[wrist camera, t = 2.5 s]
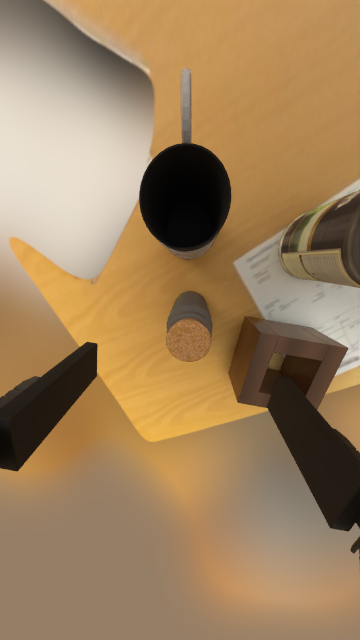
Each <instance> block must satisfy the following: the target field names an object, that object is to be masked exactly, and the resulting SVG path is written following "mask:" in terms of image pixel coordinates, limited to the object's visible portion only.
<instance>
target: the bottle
mask: <svg viewBox="0 0 360 640" xmlns="http://www.w3.org/2000/svg"><path fill="white" fill-rule="evenodd" d="M211 337H212V319H211V316H210V313H209V310H208V306H207V304H206V301H205V299H204V298H203V297H202V296H201V295H200V294H199V293H196V292H193V291H189V292H185V293H182V294H181V295H180V296H179V297H178V298H177V299H176V301H175V303H174V306H173V308H172V310H171V312H170V315H169V317H168V321H167V336H166V345H167V348H168V350H169V352H170V353H171V354H172V355H173V356H174V357H175V358H177V359H179V360H181V361H185V362H193V361H197V360H199V359H201V358H203V357H204V356H205V355H206V354H207V353H208V352H209V350H210V347H211V342H212V339H211Z"/></svg>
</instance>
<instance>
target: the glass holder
mask: <svg viewBox="0 0 360 640" xmlns="http://www.w3.org/2000/svg"><path fill="white" fill-rule="evenodd" d="M181 125H182V144H176V145H173V146H171V147H168V148H166V149H165V150H163V151H162V152H160V153H159V154H158V155H157V156H156V157H155V158H154V159H153V160H152V162H151V163H150V164H149V166H148V167H147V169H146V171H145V173H144V176H143V179H142V182H141V186H140V194H139V202H140V210H141V213H142V217H143V220H144V222H145V224H146V226H147V228H148V229H149V231H150V232H151V233H152V235H153V236H154V237H155V238H156V239H157V240H159V242H160V243H161V244H162V245H163V246H165V247H166V248H167V249H168V250H169V251H170V252H171V253H172V254H173V255H175V256H177V257H179V258H182V259H195V258H198V257H200V256H202V255H203V254H204V253H206V252H207V251H208V250H209V248H210V247H211V246H212V244H213V242H214V239H215V238H216V236H217V235H218V233H219V231H220V229H221V228H222V226H223V225H224V223H225V220H226V218H227V216H228V213H229V209H230V203H231V186H230V180H229V177H228V174H227V171H226V170H225V168H224V166H223V164H222V162H221V161H220V160H219V159H218V158H217V156H216V155H214V154H213V153H212V152H211V151H210V150H208V149H206V148H204V147H202V146H200V145H196V144H191V70H190V69H182V72H181Z"/></svg>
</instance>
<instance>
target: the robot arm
mask: <svg viewBox="0 0 360 640" xmlns="http://www.w3.org/2000/svg"><path fill="white" fill-rule="evenodd" d="M96 376H97V344H96V343H91V342H86V343H85V344H83V345H82V346H81V347H80V348H78V349H77V350H76V351H74V352H73V353H72V354H70V355H69V356H68V357H66V358H65V359H64V360H63V361H62V362H60V363H59V364H58V365H56V366H55V367H54V368H52V369H51V370H50V371H48V372H47V373H46V374H44V375H43V376H42V377H36V376H35V377H32V378H30V379H28V380H26V381H23V382H22V383H21V384H19V385H18V386H16V387H15V388H14V389H13V390H11V391H9V392H8V393H6V394H5V396H2V397H1V398H0V468H2V469H8V470H13V471H18V470H19V469H20V468H21V467H22V466H23V464H24V463H25V462H26V461H27V459H28V458H29V457H30V456H31V455H32V453H33V452H34V451H35V450H36V448H37V447H38V446H39V445H40V444H41V443H42V441H43V440H44V439H45V438H46V437H47V435H48V434H49V433H50V432H51V431H52V429H53V428H54V427H55V426H56V425H57V423H58V422H59V421H60V420H61V418H62V417H63V416H64V415H65V414H66V412H67V411H68V410H69V409H70V407H71V406H72V405H73V404H74V403H75V402H76V400H77V399H78V398H79V396H81V394H82V393H83V392H84V391H85V390H86V388H87V387H88V386H89V385H90V384H91V382H92V381H93V380H94V379H95V377H96ZM267 408H268V410H269V412H270V413H271V416H272V417H273V419H274V421H275V423H276V425H277V427H278V429H279V430H280V433H281V435H282V437H283V438H284V440H285V442H286V444H287V446H288V448H289V449H290V452H291V454H292V456H293V458H294V460H295V461H296V463H297V465H298V467H299V469H300V471H301V473H302V475H303V477H304V478H305V481H306V483H307V485H308V486H309V488H310V490H311V492H312V494H313V496H314V498H315V500H316V502H317V504H318V506H319V507H320V509H321V511H322V513H323V515H324V517H325V519H326V521H327V523H328V525H329V527H330V528H333V529H338V530H344V531H349V530H350V529H351V528H352V526H353V525H354V524H355V523H357V525H358V526H359V528H360V453H359V451H357V450H356V448H355V447H354V446H353V445H352V444H351V442H350V441H349V440H348V439H347V438H346V437H345V436H343V435H342V434H341V433H340V432H338V431H337V430H336V429H333V428H332V427H331V426H330V425H329V424H328V423H327V422H326V420H325V419H324V418H323V417H322V416H321V414H320V413H319V412H318V411H317V410H316V408H315V407H314V406H313V405H312V404H311V403H310V401H309V400H308V399H307V398H306V397H305V395H304V394H303V393H302V392H301V391H300V390H299V388H298V387H297V386H296V385H295V384H294V382H293V381H292V380H291V379H290V378H289V377H284V376H278V378H277V381H276V383H275V386H274V389H273V391H272V394H271V396H270V399H269V401H268V404H267ZM358 549H359V552H360V537H359V538H358V539H357V541H356V542H355V543H354V544H353V545H352V547H351V552H353V553H355V552H356V551H357V550H358ZM359 558H360V557H359Z"/></svg>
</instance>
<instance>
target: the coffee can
mask: <svg viewBox="0 0 360 640" xmlns="http://www.w3.org/2000/svg"><path fill="white" fill-rule="evenodd" d="M279 258H280V262H281V264H282V266H283V268H284V269H285V270H286V271H287V272H288V273H289V274H290V275H292V276H294V277H296V278H300V279H309V280H315V281H321V282H327V283H334V284H340V285H346V286H352V287H358V288H360V190H359V191H356V192H354V193H352V194H349V195H347V196H344V197H342V198H340V199H338V200H335V201H333V202H331V203H328V204H326V205H324V206H321V207H319V208H316V209H314V210H311V211H308V212H306V213H304V214H302V215H300V216H299V217H297V218H296V219H295V220H294V221H293V222H292V223H291V224H290V225H289V226H288V227H287V229H286V230H285V232H284V234H283V236H282V238H281V241H280V245H279Z"/></svg>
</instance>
